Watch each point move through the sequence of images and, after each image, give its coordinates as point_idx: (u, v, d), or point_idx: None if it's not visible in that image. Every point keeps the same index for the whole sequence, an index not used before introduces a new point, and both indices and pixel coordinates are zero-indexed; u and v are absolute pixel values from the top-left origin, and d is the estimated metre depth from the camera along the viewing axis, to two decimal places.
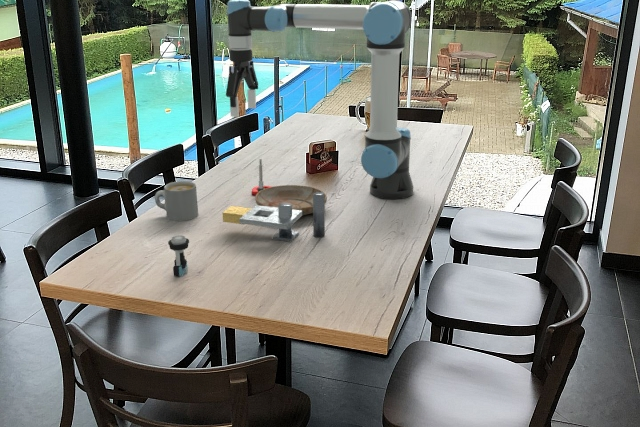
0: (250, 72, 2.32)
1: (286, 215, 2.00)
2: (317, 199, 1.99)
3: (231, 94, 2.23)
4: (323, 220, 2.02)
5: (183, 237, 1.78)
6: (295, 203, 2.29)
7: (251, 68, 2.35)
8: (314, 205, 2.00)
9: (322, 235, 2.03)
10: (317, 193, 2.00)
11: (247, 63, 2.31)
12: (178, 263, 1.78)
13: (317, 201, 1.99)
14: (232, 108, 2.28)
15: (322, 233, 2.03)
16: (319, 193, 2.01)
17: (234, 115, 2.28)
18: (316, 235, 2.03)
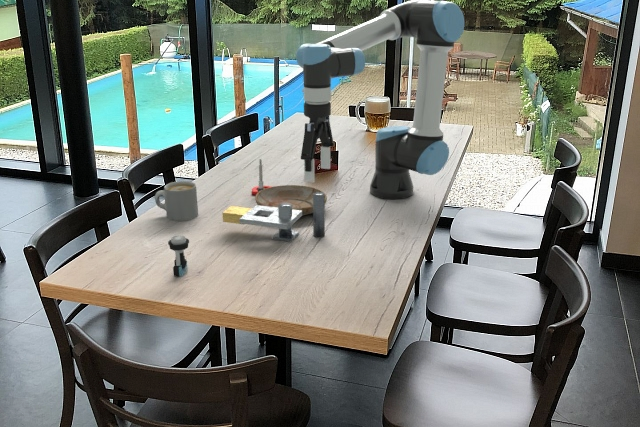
0: (326, 128, 1.96)
1: (286, 215, 2.00)
2: (317, 199, 1.99)
3: (307, 157, 1.86)
4: (323, 220, 2.02)
5: (183, 237, 1.78)
6: (295, 203, 2.29)
7: (327, 123, 1.98)
8: (314, 205, 2.00)
9: (322, 235, 2.03)
10: (317, 193, 2.00)
11: (323, 118, 1.94)
12: (178, 263, 1.78)
13: (317, 201, 1.99)
14: (307, 172, 1.91)
15: (322, 233, 2.03)
16: (319, 193, 2.01)
17: (309, 180, 1.92)
18: (316, 235, 2.03)
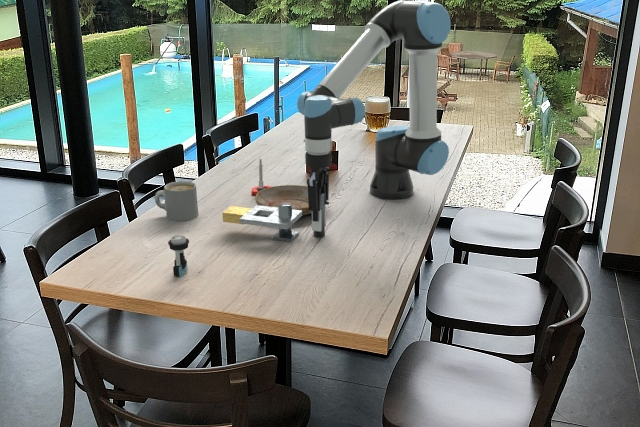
0: (326, 179, 2.00)
1: (286, 215, 2.00)
2: None
3: (315, 209, 1.96)
4: (323, 220, 2.02)
5: (183, 237, 1.78)
6: (295, 203, 2.29)
7: (326, 175, 2.03)
8: None
9: (322, 235, 2.03)
10: None
11: None
12: (178, 263, 1.78)
13: None
14: (314, 222, 2.01)
15: (322, 233, 2.03)
16: None
17: (316, 229, 2.02)
18: (316, 235, 2.03)
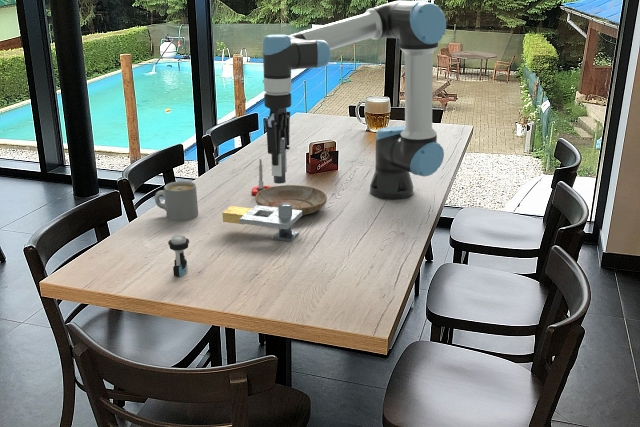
0: (286, 123, 1.95)
1: (286, 215, 2.00)
2: None
3: (274, 151, 1.91)
4: (284, 165, 1.97)
5: (183, 237, 1.78)
6: (295, 203, 2.29)
7: (287, 119, 1.98)
8: None
9: (283, 181, 1.98)
10: None
11: (285, 108, 1.94)
12: (178, 263, 1.78)
13: None
14: (274, 166, 1.96)
15: (282, 179, 1.98)
16: None
17: (276, 174, 1.96)
18: (276, 181, 1.98)
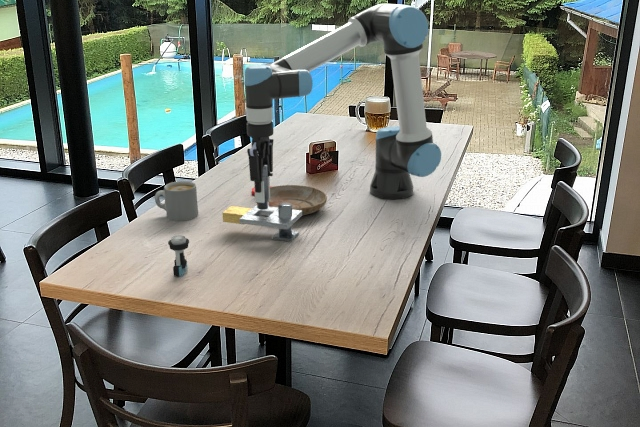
0: (269, 150, 1.98)
1: (286, 215, 2.00)
2: None
3: (256, 179, 1.95)
4: (266, 192, 2.01)
5: (183, 237, 1.78)
6: (295, 203, 2.29)
7: (270, 146, 2.01)
8: None
9: (266, 207, 2.02)
10: None
11: None
12: (178, 263, 1.78)
13: None
14: (257, 193, 1.99)
15: (266, 205, 2.02)
16: None
17: (259, 201, 2.00)
18: (259, 207, 2.02)
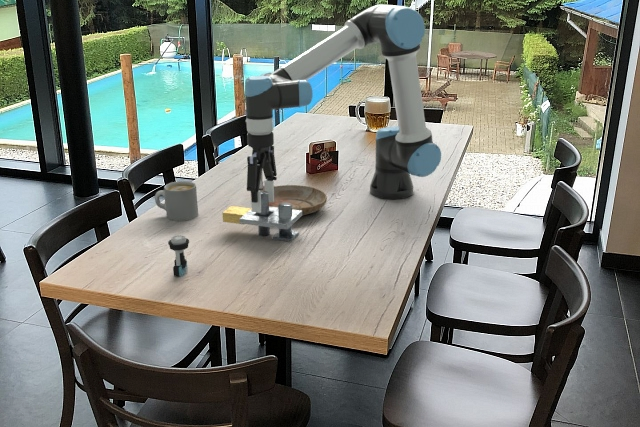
0: (270, 159, 2.00)
1: (286, 215, 2.00)
2: (261, 197, 2.00)
3: (253, 189, 1.93)
4: None
5: (183, 237, 1.78)
6: (295, 203, 2.29)
7: (271, 154, 2.03)
8: None
9: (267, 233, 2.05)
10: (261, 192, 2.02)
11: (267, 146, 1.99)
12: (178, 263, 1.78)
13: (261, 200, 2.01)
14: (253, 203, 1.98)
15: (267, 231, 2.05)
16: (263, 192, 2.02)
17: (256, 211, 1.99)
18: (261, 233, 2.05)
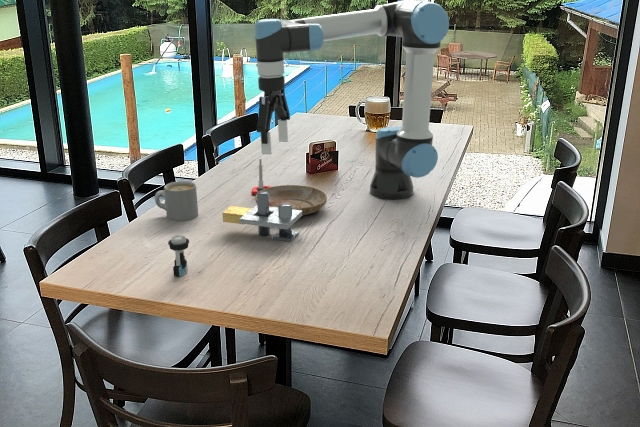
0: (282, 101, 2.01)
1: (286, 215, 2.00)
2: (261, 197, 2.00)
3: (263, 129, 1.92)
4: None
5: (183, 237, 1.78)
6: (295, 203, 2.29)
7: (282, 96, 2.04)
8: (258, 203, 2.02)
9: (267, 233, 2.05)
10: (261, 192, 2.02)
11: (278, 91, 2.00)
12: (178, 263, 1.78)
13: (261, 200, 2.01)
14: (263, 145, 1.97)
15: (267, 231, 2.05)
16: (263, 192, 2.02)
17: (266, 152, 1.97)
18: (261, 233, 2.05)
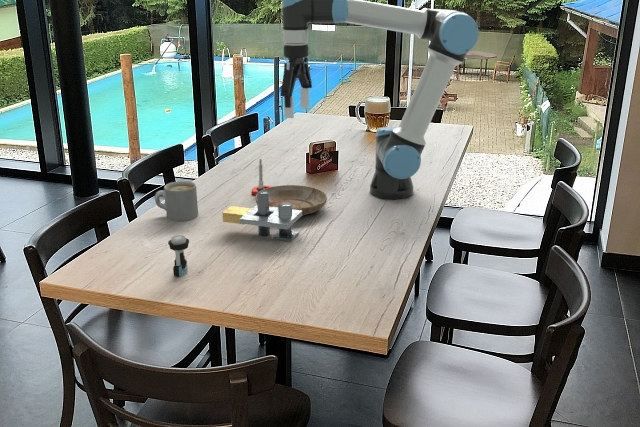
0: (305, 69, 2.13)
1: (286, 215, 2.00)
2: (261, 197, 2.00)
3: (287, 93, 2.04)
4: None
5: (183, 237, 1.78)
6: (295, 203, 2.29)
7: (305, 65, 2.16)
8: (258, 203, 2.02)
9: (267, 233, 2.05)
10: (261, 192, 2.02)
11: (302, 59, 2.12)
12: (178, 263, 1.78)
13: (261, 200, 2.01)
14: (286, 109, 2.08)
15: (267, 231, 2.05)
16: (263, 192, 2.02)
17: (288, 116, 2.09)
18: (261, 233, 2.05)
